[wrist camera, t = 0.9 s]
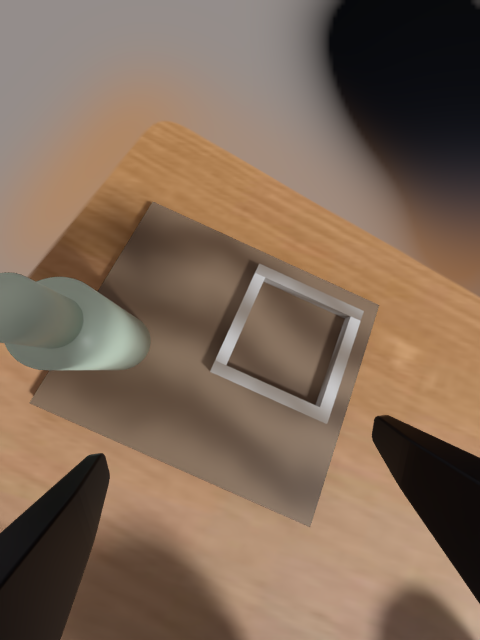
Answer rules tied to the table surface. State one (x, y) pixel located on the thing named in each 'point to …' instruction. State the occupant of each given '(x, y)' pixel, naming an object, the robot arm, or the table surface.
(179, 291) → the board
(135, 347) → the bottle
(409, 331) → the table surface
